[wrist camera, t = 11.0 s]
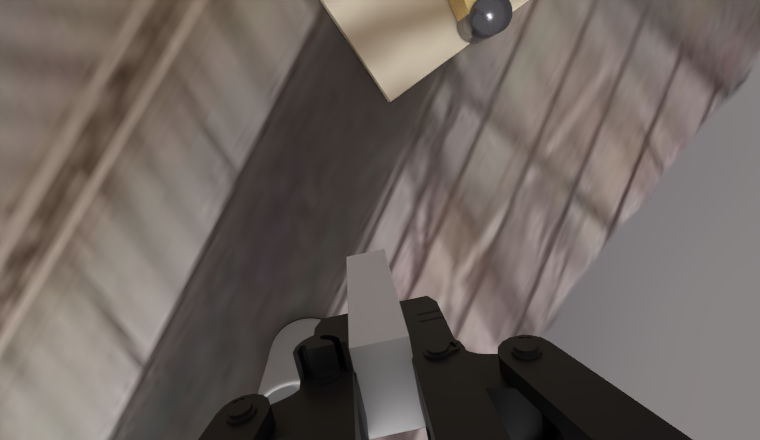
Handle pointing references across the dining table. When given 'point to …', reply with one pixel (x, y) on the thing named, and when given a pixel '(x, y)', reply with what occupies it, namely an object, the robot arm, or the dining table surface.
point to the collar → (481, 18)
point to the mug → (285, 361)
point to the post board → (399, 37)
